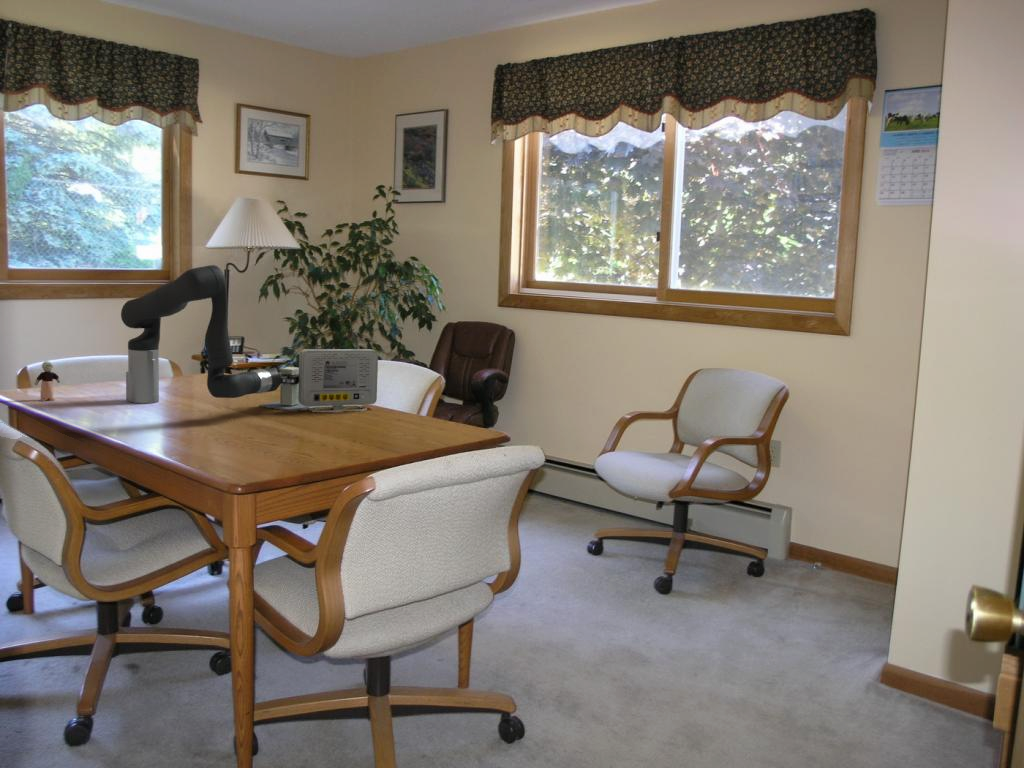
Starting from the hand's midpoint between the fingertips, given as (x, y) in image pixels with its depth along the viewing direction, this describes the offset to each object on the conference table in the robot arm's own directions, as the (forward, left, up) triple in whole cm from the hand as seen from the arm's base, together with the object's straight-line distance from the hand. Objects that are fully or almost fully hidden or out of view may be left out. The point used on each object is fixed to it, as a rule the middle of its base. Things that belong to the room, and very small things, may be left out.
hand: (295, 376), depth 294 cm
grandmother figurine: (-64, -42, -10) cm, 78 cm away
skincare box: (0, -3, -9) cm, 10 cm away
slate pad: (0, -2, -10) cm, 10 cm away
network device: (+15, +3, -10) cm, 19 cm away
